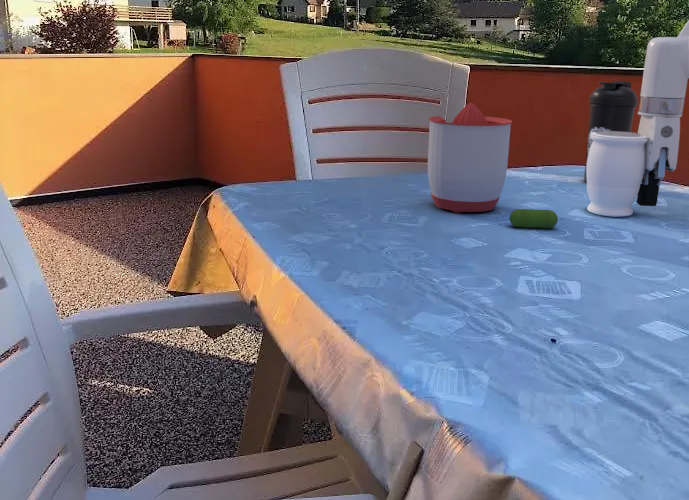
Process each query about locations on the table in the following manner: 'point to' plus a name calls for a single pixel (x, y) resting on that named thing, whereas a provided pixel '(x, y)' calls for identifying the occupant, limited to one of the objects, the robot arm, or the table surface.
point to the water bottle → (611, 110)
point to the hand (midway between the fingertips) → (646, 204)
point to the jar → (614, 172)
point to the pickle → (533, 218)
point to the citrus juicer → (468, 160)
